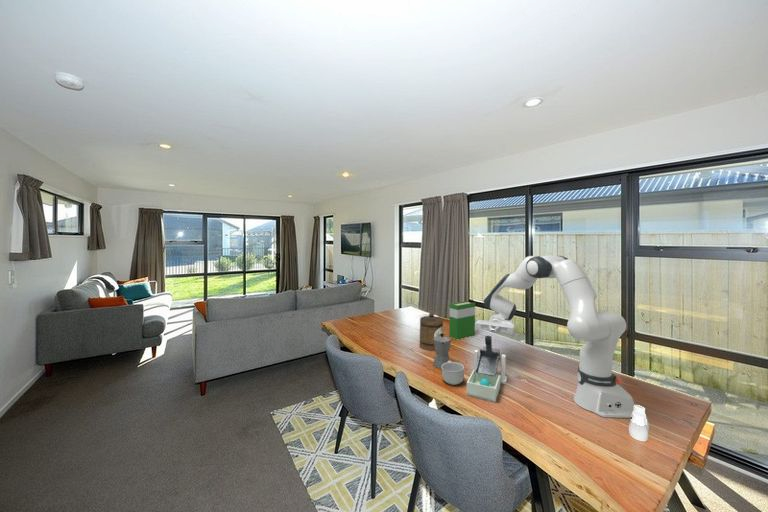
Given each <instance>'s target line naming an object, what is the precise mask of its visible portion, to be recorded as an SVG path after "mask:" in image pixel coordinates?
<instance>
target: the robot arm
mask: <svg viewBox="0 0 768 512" xmlns="http://www.w3.org/2000/svg"><path fill="white" fill-rule="evenodd" d="M538 279H556V281H557V282H558V284H559V286H560V288H561V290H562V293H563V294H564V297H565V299H566V301H567V303H568V307H569V318H568V320H567V323H566V324H567V325H566V327H567V331H568V333H569V335H570V336H571V337H572V338H573V339H575V340H577V341H583V342H585V343H584V344H583V346H582V347H581V348H580V350H579V360H578V361H579V362H578V365H579V366H578V369H577V374H576V375H577V376H576V377H577V378H576V379H577V387H576V390H575V393H574V396H573V401H574V403H575V404H577V405H578V406H579V407H581V408H582V409H585V410H587V411H589V412H592V413H595V414H596V415H598V416H600V417H602V418H618V419H619V418H620V419H621V418H622V419H632V418H631V414H632V411H633V406H634V405H635V402H634V398H633V397H632V395H631V394H630V393H629V392H628V391H627V390H625V389H624V387H622V386H621V385H622V384H623V383H624V382H623V379H622V378H620V377H618V376H617V375H615V374H614V373H613V360H614V359H613V358H614V353H615V350H616V347H617V344H618V342H619V339H620V338H621V336H622V335H623V334H624V333H625V332H626V330H627V321H626V319H625V318H624V317H623V316H622V315H621V314H619V313H617V312H614V311H607V310H602V311H597V308H596V299H597V296H598V295H597V292H596V291H595V288H594V287H593V285H592V283H591V282H590V280H589V278H588V276H587V274H586V273H585V271H584V270H583V268H582V267H581V266H580V264H578V262H577V261H575V260H574V259H569V258H568V257H566V256H563V255H540V256H538V255H536V256H534V255H528V256H526V257H525V258H524V259H523V260H522V261H521V263H519V265H518V266H517V268H516V270H515V271H514V272H512V273H507V274H505V275H504V276H503V277H502V278H501V279H500V280H499V281H498V282H497V283H496V285H495V286H494V287H493V288H491V290H490V291H489V292H488V293H487V294H486V295H485V296H484V298H483V304H484V306H485V307H486V308H488V309H490V310H492V311H494V313H492V314H491V316H490V318H489V319H488V320H484V319H478V320H477V321H476V320H475V329H476V330H482V331H483V330H484V331H489V333H494V334H495V333H504V334H511V335H514V334H515V323H514V321H513V318H514V316H515V314H516V312H517V305H516V303H514V302H513V301H511V300H509V299H507V298H505V297H503V296H502V295H500V293H501V291H502V290H503V289H505V288H512V289H517V290H528V289H530V288H531V287H533V285H535V283H536V282H537V280H538Z"/></svg>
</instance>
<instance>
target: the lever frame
mask: <svg viewBox="0 0 768 512" xmlns="http://www.w3.org/2000/svg"><path fill="white" fill-rule="evenodd" d="M473 353H474V354H473V356H474V357H473V370H475V369H476V365H477V361H478V357H479V349H475V350H474V352H473ZM506 359H507V357H506V354H501V359H500V361H501V367H500V368H501V371H500V374H497V373H496V374H497V375H500V384H504V385H506V384H507V380H508V376H507V375H506V364H507V363H506V362H507V361H506Z"/></svg>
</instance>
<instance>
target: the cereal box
mask: <svg viewBox="0 0 768 512" xmlns="http://www.w3.org/2000/svg"><path fill="white" fill-rule="evenodd" d="M475 322H476V302H469V300H464V301H459V302H454V303H453V302H452V303H449V338H451V337H452V338H451V339H453V338H455V339H454V340H456V339H459V340H462V339H461V338H463V339H466V338H465V337H467V338H471V337H474V335H476V334H475V333H476V330H475V329H476V328H475ZM470 336H471V337H470Z"/></svg>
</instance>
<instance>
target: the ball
mask: <svg viewBox="0 0 768 512" xmlns="http://www.w3.org/2000/svg"><path fill="white" fill-rule="evenodd" d="M480 385H484V386H489V381H488V380H487V379H482V380H481V381H480Z"/></svg>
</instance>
